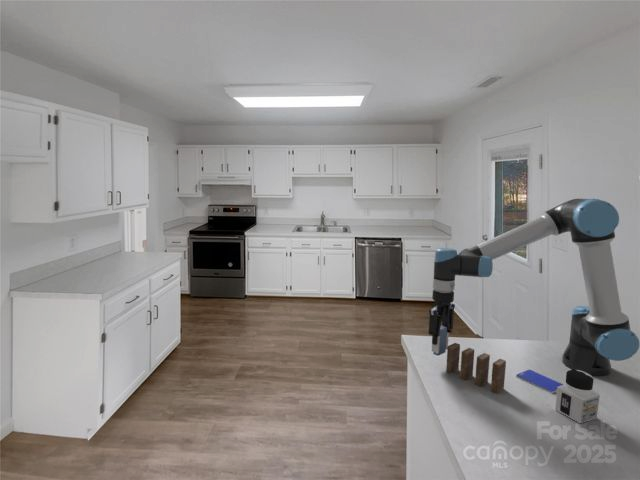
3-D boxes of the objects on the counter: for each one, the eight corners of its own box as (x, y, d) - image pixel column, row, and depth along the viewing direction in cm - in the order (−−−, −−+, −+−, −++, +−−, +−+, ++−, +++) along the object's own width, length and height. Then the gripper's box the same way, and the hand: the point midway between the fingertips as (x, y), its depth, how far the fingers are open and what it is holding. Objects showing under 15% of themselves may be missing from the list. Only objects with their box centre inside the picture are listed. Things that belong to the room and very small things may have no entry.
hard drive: (516, 374, 132) (552, 390, 121) (529, 368, 136) (565, 384, 125) (515, 378, 132) (551, 395, 121) (529, 372, 136) (565, 388, 125)
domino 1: (458, 370, 137) (460, 344, 135) (451, 374, 133) (452, 348, 132) (453, 368, 138) (455, 342, 137) (446, 372, 135) (447, 346, 134)
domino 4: (503, 388, 124) (506, 360, 123) (496, 394, 121) (499, 365, 119) (497, 386, 125) (500, 358, 124) (490, 391, 122) (492, 362, 121)
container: (580, 424, 105) (585, 382, 103) (554, 410, 112) (558, 369, 110) (597, 418, 108) (602, 376, 106) (570, 404, 115) (575, 365, 113)
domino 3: (487, 382, 128) (489, 355, 127) (480, 387, 125) (482, 359, 124) (482, 380, 130) (484, 353, 128) (474, 384, 126) (476, 356, 125)
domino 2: (472, 376, 132) (474, 349, 131) (465, 380, 129) (467, 353, 128) (467, 373, 134) (469, 347, 133) (460, 378, 131) (461, 351, 129)
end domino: (433, 353, 138) (434, 328, 137) (440, 350, 142) (442, 325, 140) (437, 355, 137) (439, 330, 136) (445, 352, 140) (447, 327, 139)
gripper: (438, 296, 127) (434, 360, 131) (465, 288, 139) (461, 347, 142) (420, 291, 133) (416, 353, 136) (447, 284, 145) (444, 341, 148)
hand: (439, 350), depth 139 cm, fingers closed on end domino, 5 cm apart
